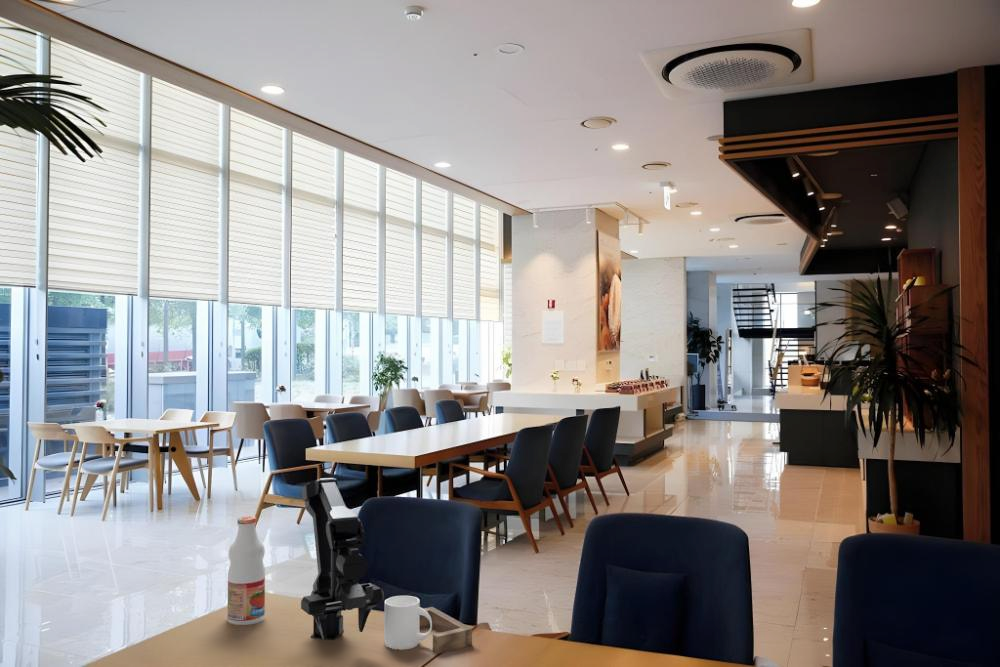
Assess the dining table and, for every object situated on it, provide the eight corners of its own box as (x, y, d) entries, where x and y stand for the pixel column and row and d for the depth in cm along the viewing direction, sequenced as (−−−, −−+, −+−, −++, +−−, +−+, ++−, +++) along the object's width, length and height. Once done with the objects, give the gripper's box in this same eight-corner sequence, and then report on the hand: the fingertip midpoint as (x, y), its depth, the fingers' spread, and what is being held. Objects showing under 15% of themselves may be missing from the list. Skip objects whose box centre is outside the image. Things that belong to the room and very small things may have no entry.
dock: (436, 653, 186) (436, 636, 186) (398, 629, 202) (398, 613, 203) (472, 645, 192) (472, 628, 192) (432, 621, 208) (432, 606, 208)
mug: (426, 653, 186) (426, 608, 186) (379, 649, 189) (379, 605, 189) (436, 640, 194) (437, 597, 195) (391, 637, 197) (391, 594, 197)
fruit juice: (231, 618, 210) (233, 514, 211) (267, 617, 211) (268, 514, 212) (223, 631, 201) (224, 522, 202) (260, 629, 202) (261, 521, 203)
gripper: (318, 584, 172) (317, 655, 171) (394, 570, 182) (393, 637, 182) (300, 572, 181) (299, 639, 181) (373, 560, 191) (373, 623, 191)
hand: (342, 635), depth 183 cm, fingers open, 9 cm apart
